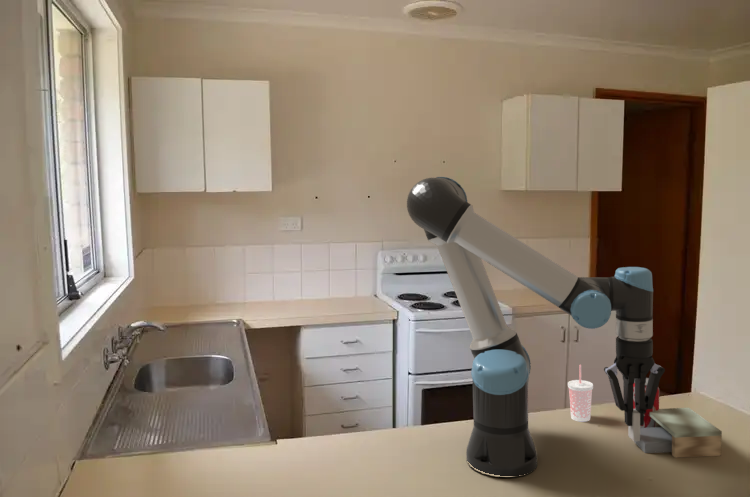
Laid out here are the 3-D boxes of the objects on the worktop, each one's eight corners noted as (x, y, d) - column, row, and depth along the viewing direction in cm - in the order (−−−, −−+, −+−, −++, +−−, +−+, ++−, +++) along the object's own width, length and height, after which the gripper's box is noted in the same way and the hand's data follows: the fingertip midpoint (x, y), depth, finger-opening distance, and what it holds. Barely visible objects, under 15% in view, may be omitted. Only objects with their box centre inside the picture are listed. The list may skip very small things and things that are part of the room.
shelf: (674, 457, 126) (674, 433, 126) (646, 431, 140) (646, 409, 139) (721, 455, 126) (721, 431, 126) (688, 429, 139) (688, 407, 139)
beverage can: (662, 435, 138) (662, 385, 136) (633, 434, 139) (633, 385, 137) (655, 424, 144) (655, 377, 142) (627, 423, 145) (628, 376, 143)
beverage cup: (580, 424, 145) (579, 370, 143) (562, 416, 150) (562, 363, 149) (598, 419, 147) (598, 365, 146) (580, 411, 153) (580, 359, 151)
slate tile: (645, 454, 129) (645, 443, 129) (629, 438, 137) (629, 428, 137) (690, 452, 129) (690, 441, 129) (672, 436, 137) (672, 426, 137)
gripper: (611, 343, 126) (611, 447, 129) (671, 340, 126) (671, 444, 129) (598, 334, 134) (599, 433, 137) (655, 331, 134) (655, 430, 136)
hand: (634, 438), depth 133 cm, fingers closed
